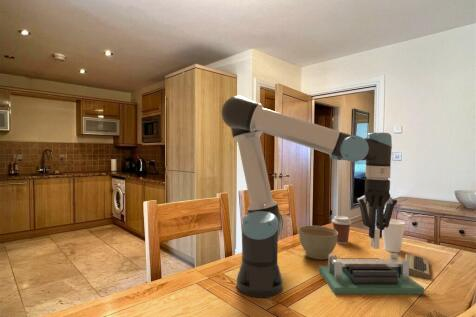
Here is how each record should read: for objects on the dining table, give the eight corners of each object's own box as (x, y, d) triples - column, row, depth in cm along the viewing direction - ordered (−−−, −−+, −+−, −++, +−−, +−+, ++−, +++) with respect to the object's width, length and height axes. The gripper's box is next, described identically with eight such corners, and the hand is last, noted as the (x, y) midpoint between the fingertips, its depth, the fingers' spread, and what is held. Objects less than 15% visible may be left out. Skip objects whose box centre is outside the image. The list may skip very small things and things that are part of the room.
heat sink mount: (338, 287, 86) (338, 264, 86) (326, 270, 98) (326, 250, 98) (413, 287, 86) (413, 264, 86) (391, 271, 98) (392, 250, 98)
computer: (430, 280, 94) (430, 271, 94) (403, 274, 98) (403, 265, 98) (428, 265, 107) (428, 256, 107) (404, 260, 112) (404, 252, 111)
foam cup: (404, 248, 123) (405, 220, 123) (404, 255, 116) (404, 225, 115) (381, 244, 128) (381, 217, 128) (379, 250, 121) (380, 222, 120)
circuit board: (334, 293, 84) (334, 287, 84) (318, 271, 100) (318, 265, 100) (423, 294, 84) (424, 287, 84) (394, 271, 100) (394, 266, 100)
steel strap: (334, 267, 90) (334, 262, 90) (330, 262, 94) (330, 258, 94) (404, 267, 90) (404, 262, 90) (397, 262, 94) (397, 258, 94)
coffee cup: (335, 244, 128) (335, 219, 128) (328, 238, 137) (329, 215, 137) (354, 244, 128) (354, 219, 128) (346, 238, 138) (346, 215, 137)
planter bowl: (341, 264, 106) (341, 237, 105) (299, 261, 108) (299, 235, 108) (333, 250, 121) (334, 226, 121) (297, 247, 124) (297, 224, 124)
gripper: (363, 179, 87) (360, 251, 88) (403, 180, 87) (400, 251, 88) (353, 176, 95) (351, 243, 96) (390, 177, 95) (387, 243, 96)
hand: (374, 247), depth 92 cm, fingers closed
